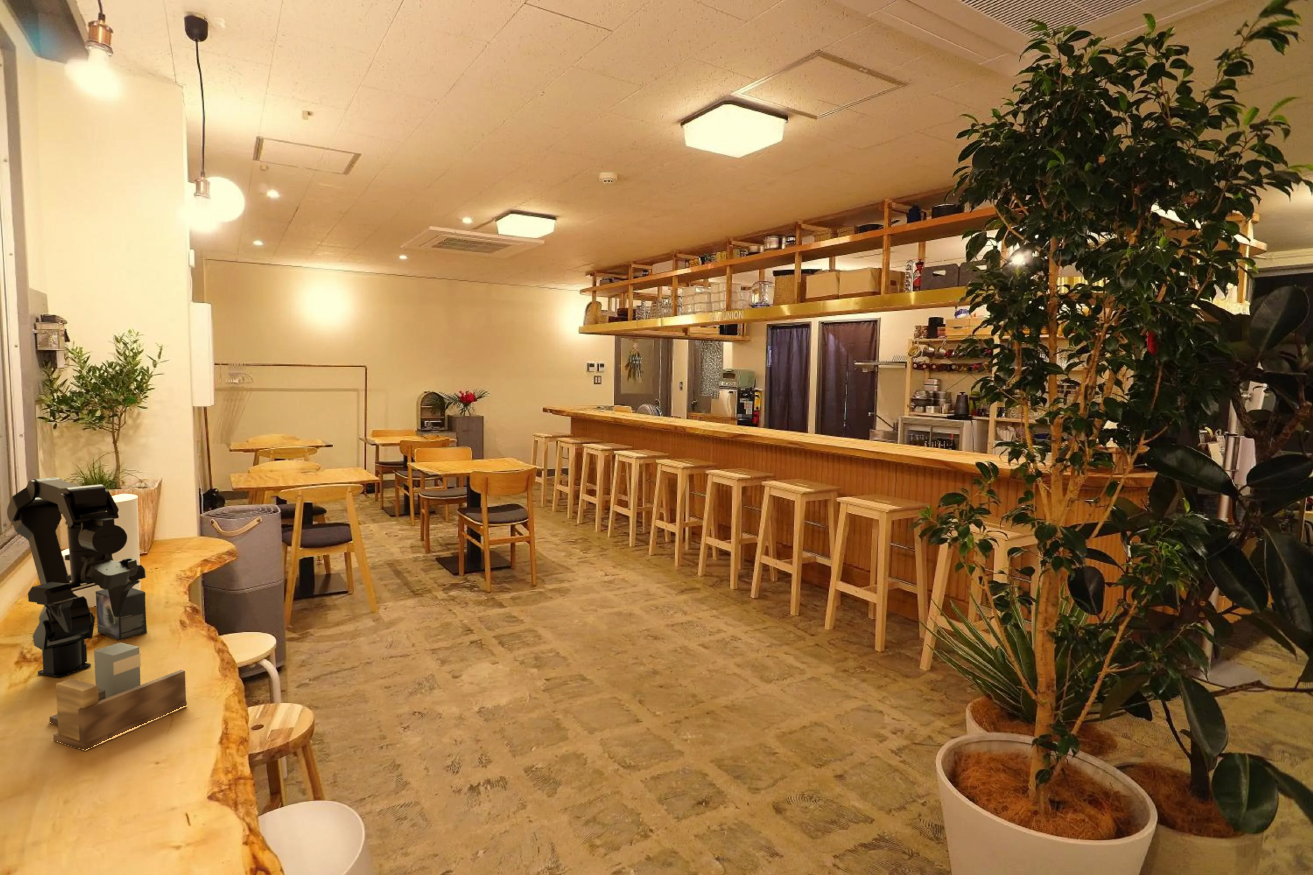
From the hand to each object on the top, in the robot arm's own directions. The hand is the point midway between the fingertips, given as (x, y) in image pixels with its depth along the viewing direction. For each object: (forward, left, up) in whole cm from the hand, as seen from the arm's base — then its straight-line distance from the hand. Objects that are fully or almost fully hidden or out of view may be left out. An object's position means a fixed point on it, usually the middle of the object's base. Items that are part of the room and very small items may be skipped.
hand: (93, 624), depth 141 cm
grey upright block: (-7, -15, -12) cm, 20 cm away
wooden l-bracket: (-9, -16, -13) cm, 23 cm away
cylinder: (+41, +53, -13) cm, 69 cm away
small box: (+23, +23, -13) cm, 36 cm away
